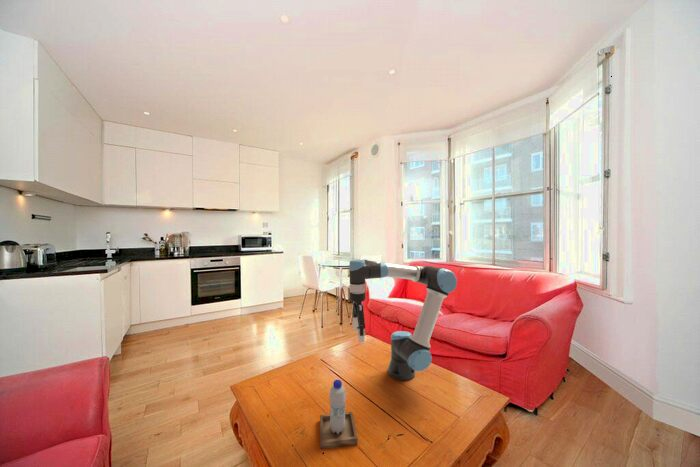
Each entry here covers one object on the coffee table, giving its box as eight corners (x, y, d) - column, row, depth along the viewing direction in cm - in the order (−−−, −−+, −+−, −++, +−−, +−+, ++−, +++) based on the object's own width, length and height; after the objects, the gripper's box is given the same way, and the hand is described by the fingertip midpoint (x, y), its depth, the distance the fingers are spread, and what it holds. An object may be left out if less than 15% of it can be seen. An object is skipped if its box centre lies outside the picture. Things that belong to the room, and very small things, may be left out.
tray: (352, 417, 108) (352, 411, 108) (357, 444, 94) (357, 438, 94) (320, 420, 106) (320, 415, 106) (320, 448, 92) (320, 442, 92)
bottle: (329, 424, 103) (329, 376, 103) (345, 422, 104) (345, 375, 104) (329, 437, 96) (329, 386, 96) (346, 436, 97) (346, 385, 97)
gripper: (346, 286, 131) (347, 326, 131) (354, 299, 106) (355, 348, 106) (360, 285, 132) (361, 325, 132) (371, 298, 107) (372, 346, 107)
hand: (358, 335), depth 119 cm, fingers open, 13 cm apart
